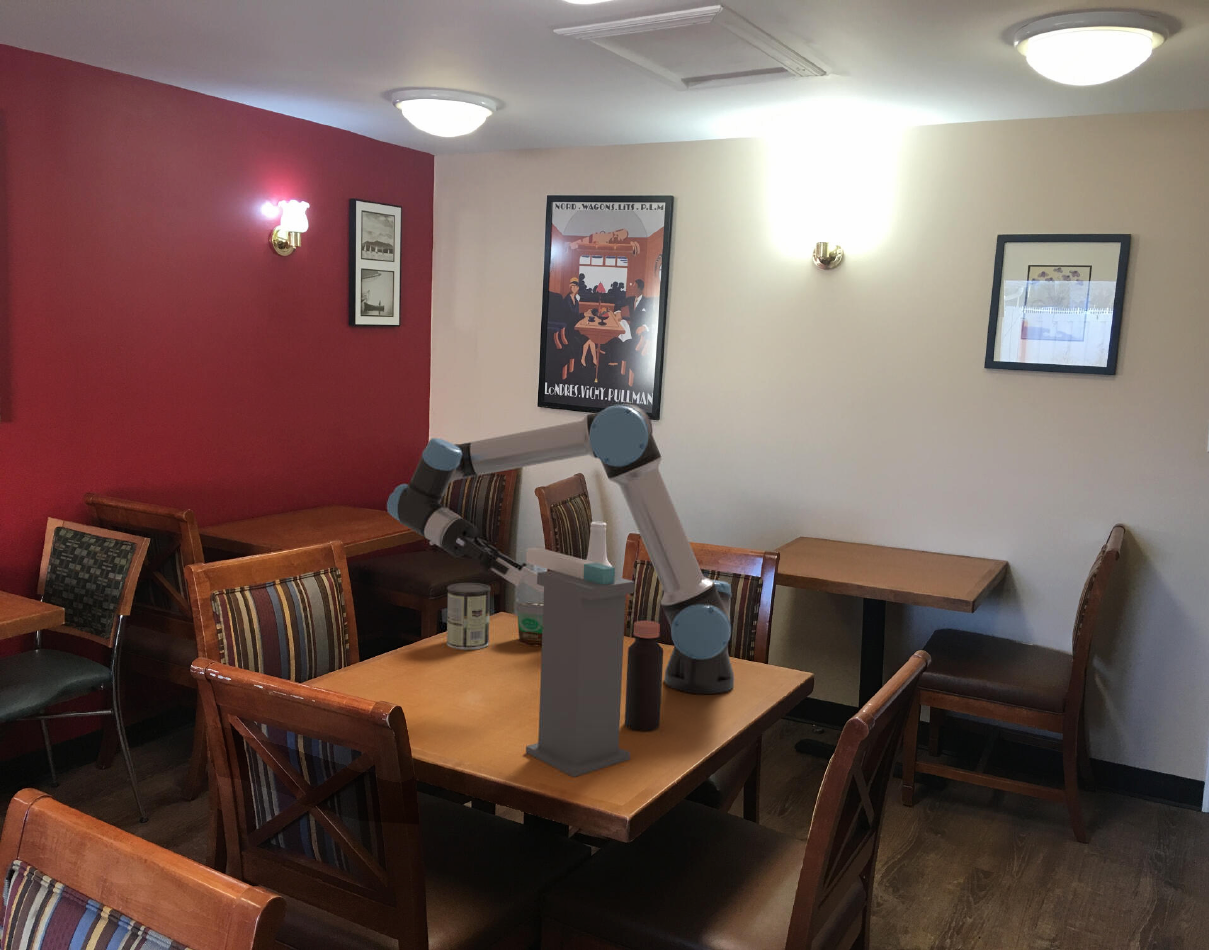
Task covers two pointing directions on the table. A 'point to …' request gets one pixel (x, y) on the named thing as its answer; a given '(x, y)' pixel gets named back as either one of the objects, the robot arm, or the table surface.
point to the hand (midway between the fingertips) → (534, 584)
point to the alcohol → (598, 544)
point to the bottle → (644, 678)
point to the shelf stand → (581, 673)
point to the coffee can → (468, 616)
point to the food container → (530, 622)
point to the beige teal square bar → (571, 565)
